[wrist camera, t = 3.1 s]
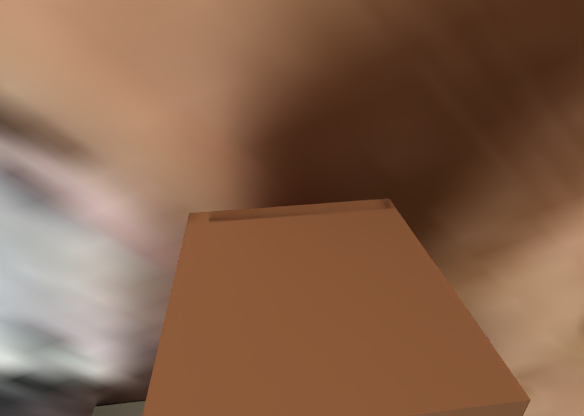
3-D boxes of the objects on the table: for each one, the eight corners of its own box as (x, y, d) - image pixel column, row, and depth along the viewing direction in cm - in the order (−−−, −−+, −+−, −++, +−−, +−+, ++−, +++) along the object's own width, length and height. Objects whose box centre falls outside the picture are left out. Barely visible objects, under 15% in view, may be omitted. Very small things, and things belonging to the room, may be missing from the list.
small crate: (388, 198, 10) (530, 399, 5) (365, 392, 14) (430, 606, 9) (189, 213, 9) (133, 451, 4) (225, 409, 13) (215, 643, 8)
